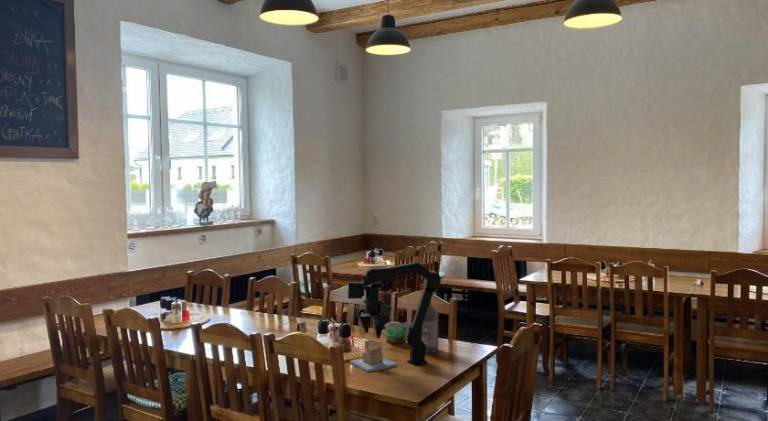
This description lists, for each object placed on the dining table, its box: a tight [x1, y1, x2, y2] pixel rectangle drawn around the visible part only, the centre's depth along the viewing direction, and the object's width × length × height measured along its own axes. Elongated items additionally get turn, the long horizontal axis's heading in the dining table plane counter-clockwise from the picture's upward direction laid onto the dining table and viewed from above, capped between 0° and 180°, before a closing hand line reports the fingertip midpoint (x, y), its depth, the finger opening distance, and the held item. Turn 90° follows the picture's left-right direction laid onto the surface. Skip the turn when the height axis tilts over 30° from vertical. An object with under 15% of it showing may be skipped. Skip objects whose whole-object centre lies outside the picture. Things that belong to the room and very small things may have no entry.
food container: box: [384, 321, 409, 345], centre depth 283 cm, size 12×6×10 cm, turn 62°
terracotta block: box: [364, 338, 382, 355], centre depth 251 cm, size 5×5×5 cm
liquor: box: [421, 300, 439, 354], centre depth 270 cm, size 9×9×30 cm
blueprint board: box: [349, 351, 397, 373], centre depth 251 cm, size 14×14×5 cm
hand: (372, 335), depth 251 cm, fingers open, 9 cm apart
